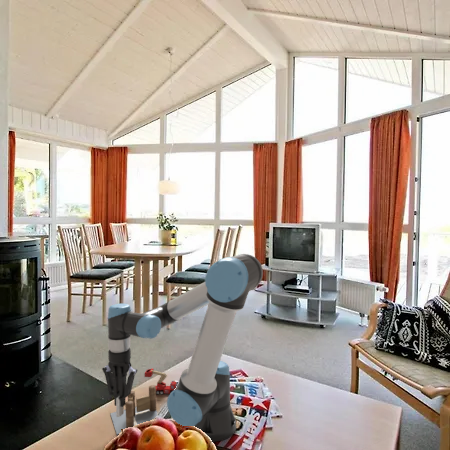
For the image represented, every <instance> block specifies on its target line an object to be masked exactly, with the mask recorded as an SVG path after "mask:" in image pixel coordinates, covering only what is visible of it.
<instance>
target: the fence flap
mask: <svg viewBox="0 0 450 450" xmlns="http://www.w3.org/2000/svg"><path fill="white" fill-rule="evenodd" d="M133 399H135V400H136V394H135V390H131V393H130V394H129V395H128V396H127V401H125V405H124V407H125V409H126V428H128V427H133V426H134V416H133ZM128 400H129V401H128Z"/></svg>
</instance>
